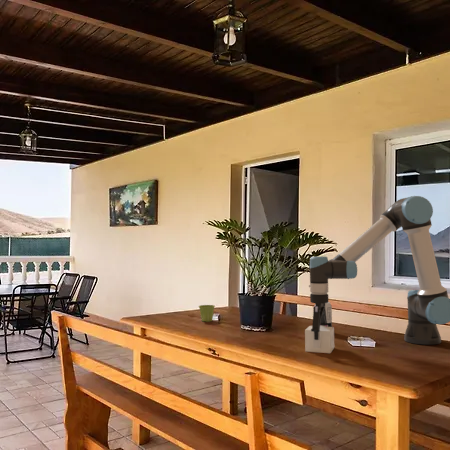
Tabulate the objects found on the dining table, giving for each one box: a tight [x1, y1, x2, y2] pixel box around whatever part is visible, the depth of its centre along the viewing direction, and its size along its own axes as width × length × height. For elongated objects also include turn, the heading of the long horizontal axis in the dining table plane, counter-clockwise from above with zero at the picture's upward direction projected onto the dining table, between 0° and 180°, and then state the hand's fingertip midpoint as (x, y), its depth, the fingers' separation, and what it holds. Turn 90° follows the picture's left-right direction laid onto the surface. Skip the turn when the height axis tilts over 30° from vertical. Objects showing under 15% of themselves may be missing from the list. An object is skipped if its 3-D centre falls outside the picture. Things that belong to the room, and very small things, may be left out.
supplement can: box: [314, 301, 333, 327], centre depth 232 cm, size 8×8×15 cm
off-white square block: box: [304, 325, 335, 354], centre depth 196 cm, size 10×10×9 cm
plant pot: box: [198, 304, 216, 323], centre depth 269 cm, size 9×9×9 cm
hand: (320, 344), depth 196 cm, fingers open, 13 cm apart
